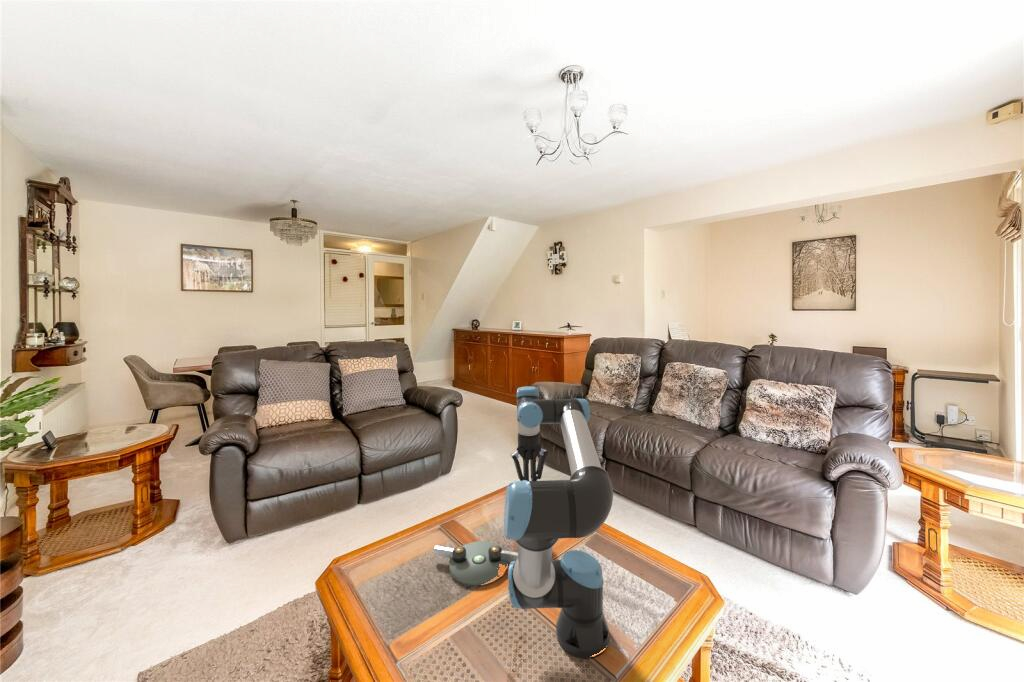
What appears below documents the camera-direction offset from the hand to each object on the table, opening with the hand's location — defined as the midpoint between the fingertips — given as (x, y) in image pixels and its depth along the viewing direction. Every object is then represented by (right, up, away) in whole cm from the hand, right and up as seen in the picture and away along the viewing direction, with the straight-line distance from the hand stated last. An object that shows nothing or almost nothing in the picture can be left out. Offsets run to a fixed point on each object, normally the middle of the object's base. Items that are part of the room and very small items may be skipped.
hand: (530, 499), depth 133 cm
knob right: (-9, -26, +10) cm, 29 cm away
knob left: (-29, -27, +12) cm, 42 cm away
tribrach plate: (-19, -29, +11) cm, 36 cm away
